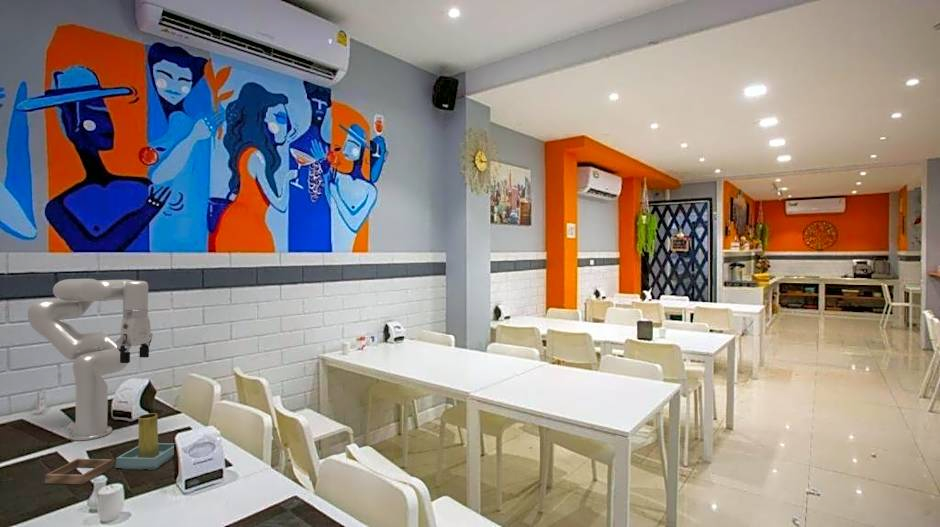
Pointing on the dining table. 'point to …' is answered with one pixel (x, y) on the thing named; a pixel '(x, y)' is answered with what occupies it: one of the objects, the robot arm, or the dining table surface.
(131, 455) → the tray
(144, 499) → the dining table surface
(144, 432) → the vase
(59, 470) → the frame
